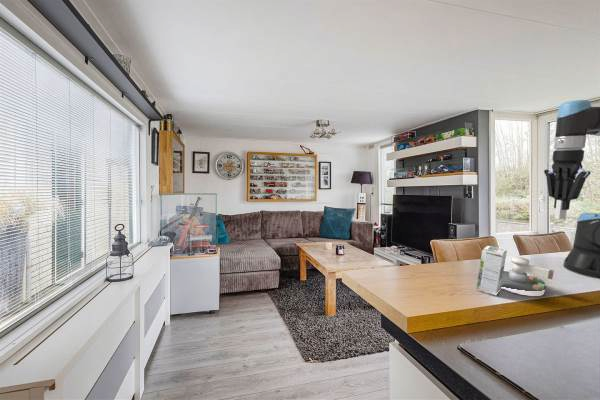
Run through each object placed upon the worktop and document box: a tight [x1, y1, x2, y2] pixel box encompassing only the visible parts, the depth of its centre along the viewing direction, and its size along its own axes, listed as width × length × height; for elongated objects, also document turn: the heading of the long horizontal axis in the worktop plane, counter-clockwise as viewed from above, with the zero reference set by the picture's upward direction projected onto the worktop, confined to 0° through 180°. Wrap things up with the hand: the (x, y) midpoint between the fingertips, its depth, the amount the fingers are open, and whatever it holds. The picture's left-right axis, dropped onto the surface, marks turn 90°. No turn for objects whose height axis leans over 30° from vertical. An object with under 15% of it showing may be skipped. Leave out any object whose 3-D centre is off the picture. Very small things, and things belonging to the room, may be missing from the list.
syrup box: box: [475, 245, 508, 293], centre depth 91 cm, size 6×6×14 cm
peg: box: [510, 256, 555, 280], centre depth 93 cm, size 11×5×4 cm, turn 43°
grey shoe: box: [501, 269, 547, 291], centre depth 96 cm, size 15×15×5 cm
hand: (560, 218), depth 97 cm, fingers closed
